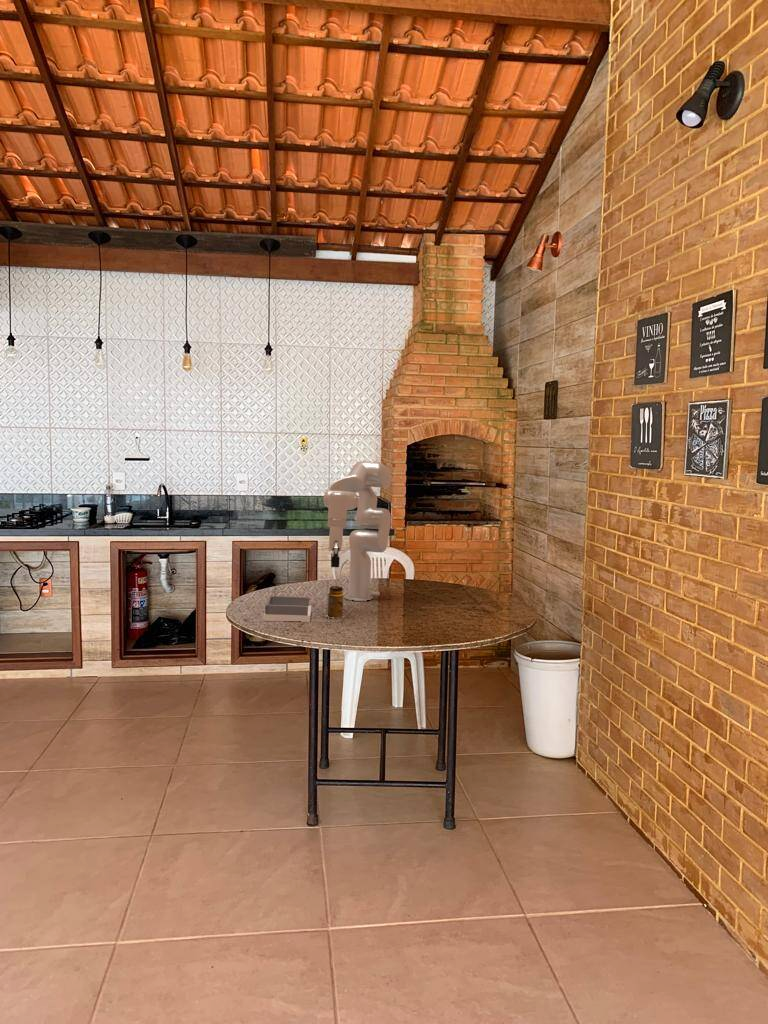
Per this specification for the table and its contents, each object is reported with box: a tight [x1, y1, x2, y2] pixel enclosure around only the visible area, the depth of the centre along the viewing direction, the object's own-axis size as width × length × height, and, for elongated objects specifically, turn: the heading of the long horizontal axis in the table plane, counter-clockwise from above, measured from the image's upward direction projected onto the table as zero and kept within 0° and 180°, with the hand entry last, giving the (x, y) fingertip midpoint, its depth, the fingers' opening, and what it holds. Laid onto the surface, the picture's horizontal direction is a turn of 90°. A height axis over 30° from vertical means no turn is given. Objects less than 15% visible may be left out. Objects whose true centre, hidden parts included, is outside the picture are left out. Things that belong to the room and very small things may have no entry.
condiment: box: [319, 585, 346, 620], centre depth 282 cm, size 7×8×12 cm
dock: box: [262, 595, 312, 623], centre depth 279 cm, size 18×18×6 cm
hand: (334, 565), depth 280 cm, fingers open, 9 cm apart
